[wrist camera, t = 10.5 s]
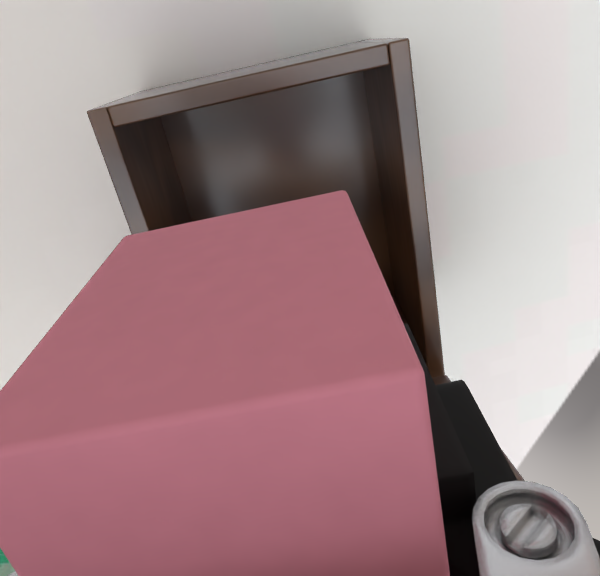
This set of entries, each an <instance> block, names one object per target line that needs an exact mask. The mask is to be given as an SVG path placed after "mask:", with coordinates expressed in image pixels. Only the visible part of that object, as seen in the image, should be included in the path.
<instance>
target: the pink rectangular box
mask: <svg viewBox="0 0 600 576" xmlns="http://www.w3.org/2000/svg"><path fill="white" fill-rule="evenodd" d="M0 548H1V550H2V551H3V553H4V554H5V556H6V557H7V559H8V561H9V562H10V564H11V565H12V567H13V568H14V570H15V571H16V573H17V574H18V576H450V571H449V563H448V556H447V548H446V540H445V532H444V524H443V516H442V508H441V500H440V492H439V484H438V476H437V469H436V461H435V453H434V445H433V437H432V429H431V421H430V413H429V405H428V397H427V389H426V382H425V374H424V371H423V368H422V366H421V364H420V361H419V359H418V357H417V354H416V352H415V350H414V347H413V345H412V343H411V340H410V338H409V336H408V333H407V331H406V329H405V326H404V324H403V322H402V319H401V317H400V315H399V312H398V310H397V308H396V305H395V303H394V301H393V299H392V296H391V294H390V292H389V289H388V287H387V285H386V282H385V280H384V278H383V275H382V273H381V271H380V268H379V266H378V264H377V261H376V259H375V257H374V254H373V252H372V250H371V247H370V245H369V243H368V240H367V238H366V236H365V233H364V231H363V229H362V226H361V224H360V222H359V219H358V217H357V215H356V212H355V210H354V208H353V205H352V203H351V201H350V198H349V196H348V194H347V192H346V191H343V190H340V191H336V192H331V193H326V194H321V195H317V196H312V197H307V198H303V199H298V200H293V201H288V202H284V203H279V204H274V205H270V206H265V207H260V208H255V209H251V210H246V211H241V212H237V213H232V214H227V215H222V216H218V217H213V218H208V219H203V220H199V221H194V222H189V223H185V224H180V225H175V226H170V227H166V228H161V229H156V230H152V231H147V232H142V233H137V234H133V235H128V236H125V237H124V238H123V239H122V240H121V242H120V243H119V244H118V245H117V247H116V248H115V249H114V250H113V251H112V253H111V254H110V255H109V256H108V258H107V259H106V260H105V261H104V263H103V264H102V265H101V266H100V268H99V269H98V270H97V271H96V273H95V274H94V275H93V276H92V278H91V279H90V280H89V281H88V283H87V284H86V285H85V286H84V288H83V289H82V290H81V291H80V293H79V294H78V295H77V296H76V297H75V299H74V300H73V301H72V302H71V304H70V305H69V306H68V307H67V309H66V310H65V311H64V312H63V314H62V315H61V316H60V317H59V319H58V320H57V321H56V322H55V324H54V325H53V326H52V327H51V329H50V330H49V331H48V332H47V334H46V335H45V336H44V337H43V339H42V340H41V341H40V342H39V344H38V345H37V346H36V347H35V348H34V350H33V351H32V352H31V353H30V355H29V356H28V357H27V358H26V360H25V361H24V362H23V363H22V365H21V366H20V367H19V368H18V370H17V371H16V372H15V373H14V375H13V376H12V377H11V378H10V380H9V381H8V382H7V383H6V385H5V386H4V387H3V388H2V390H1V391H0Z"/></svg>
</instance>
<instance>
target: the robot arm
mask: <svg viewBox="0 0 600 576" xmlns="http://www.w3.org/2000/svg"><path fill="white" fill-rule="evenodd" d="M404 326H405V329H406V331H407V333H408V336H409V338H410V340H411V343H412V345H413V347H414V350H415V352H416V354H417V357H418V359H419V361H420V364H421V366H422V368H423V371H424V374H425V382H426V389H427V397H428V405H429V413H430V421H431V429H432V437H433V445H434V453H435V461H436V469H437V476H438V484H439V492H440V500H441V508H442V516H443V524H444V532H445V540H446V548H447V556H448V563H449V571H450V576H600V541H598V540H596V539H594V538H592V536H591V533H590V531H589V528H588V525H587V523H586V521H585V519H584V517H583V515H582V514H581V512H580V510H579V509H578V507H577V506H576V505H575V504H573V503H572V502H571V501H570V500H569V499H568V498H567V497H566V496H564V495H563V494H561V493H559V492H557V491H556V490H554V489H552V488H551V487H548V486H544V485H541V484H538V483H535V482H527V481H518V480H517V478H516V476H515V475H514V473H513V471H512V469H511V467H510V465H509V463H508V462H507V460H506V458H505V456H504V454H503V452H502V450H501V448H500V447H499V445H498V443H497V441H496V439H495V437H494V435H493V433H492V432H491V430H490V428H489V426H488V424H487V422H486V420H485V418H484V417H483V415H482V413H481V411H480V409H479V407H478V405H477V404H476V402H475V400H474V398H473V396H472V394H471V392H470V390H469V389H468V387H467V385H466V384H465V382H464V381H462V380H459V381H453V382H448V383H443V384H437V385H435V384H434V381H433V379H432V377H431V375H430V372H429V370H428V368H427V366H426V363H425V361H424V359H423V356H422V354H421V352H420V350H419V347H418V345H417V343H416V341H415V338H414V336H413V334H412V332H411V329H410V327H409V325H408V324H404ZM8 576H18V574H17V573H16V571H15V572H13V573H11V574H9V575H8Z"/></svg>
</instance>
